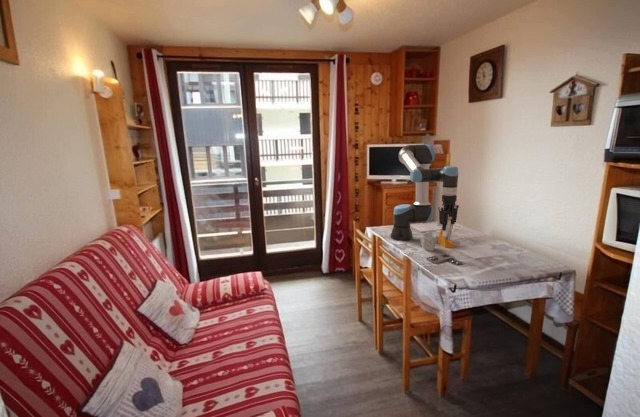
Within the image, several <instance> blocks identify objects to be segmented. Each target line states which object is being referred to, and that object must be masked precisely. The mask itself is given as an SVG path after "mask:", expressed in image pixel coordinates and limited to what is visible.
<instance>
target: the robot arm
mask: <svg viewBox="0 0 640 417" xmlns="http://www.w3.org/2000/svg"><path fill="white" fill-rule="evenodd" d="M435 157H436V151H435V148H434V147H433V145H432V144H425V143H424V144H408V145H407V144H406V145H405V146H403V147H402V148H401V149H399V152H398V157H397V158H398V161H399V162H400V163H401V164H403V165H404V166H405V167H406V169H407V170H408V171H409V178H410V181H411V182H412V183H415V201H414V202H413V203H412V205H413V206H412V205H411V204H408V203H406V204H403V203H402V204H398V205H396V206H394V207H393V226H392V230H391V233H390V238H391V239H392V240H395V241H400V242H401V241H402V242H404V241H410V240H413V237H414V235H413V232H412V228H411V224H425V223H427V224H428V223H431V221H432V220H433V217H434V212H435V211H434V206H432V205H431V203H430V202H429V193H430V192H429V184H430V183H440V182H441V183H442V191H441V192H442V193H441V194H442V196H441V201H442V204H441V206H438V214H439V219H438V220H439V224H440V225H441V226H442V227H441V229H442V230H443V233H442V235H443V236H446V237H447V228H448V225H447V219H448V216H451V217H452V219H451V226H450V237H451V236H452V235H453V229H454V225H455V224H456V222H457V218H458V212H459V211H458V210H459V208H460V205H459V204H456V203H457V199H458V198H457V197H458V196H457V193H458V181H459V168H458V166H456V165H455V166H453V165H445V166H444V167H438V168H430V166H431V165H432V162H434V161H435V159H436V158H435Z"/></svg>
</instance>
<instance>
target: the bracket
mask: <svg viewBox="0 0 640 417" xmlns="http://www.w3.org/2000/svg"><path fill="white" fill-rule="evenodd" d="M439 231H440V232H439V235H438V239H437V244H439V245H441V246H442V247H443V248H456V246H457V245H456V244H455V243H454V242H453V241H451V240H450V239H449V240H446V239H444V236H443V235H442V233H443V230H442V228H440V230H439Z"/></svg>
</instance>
